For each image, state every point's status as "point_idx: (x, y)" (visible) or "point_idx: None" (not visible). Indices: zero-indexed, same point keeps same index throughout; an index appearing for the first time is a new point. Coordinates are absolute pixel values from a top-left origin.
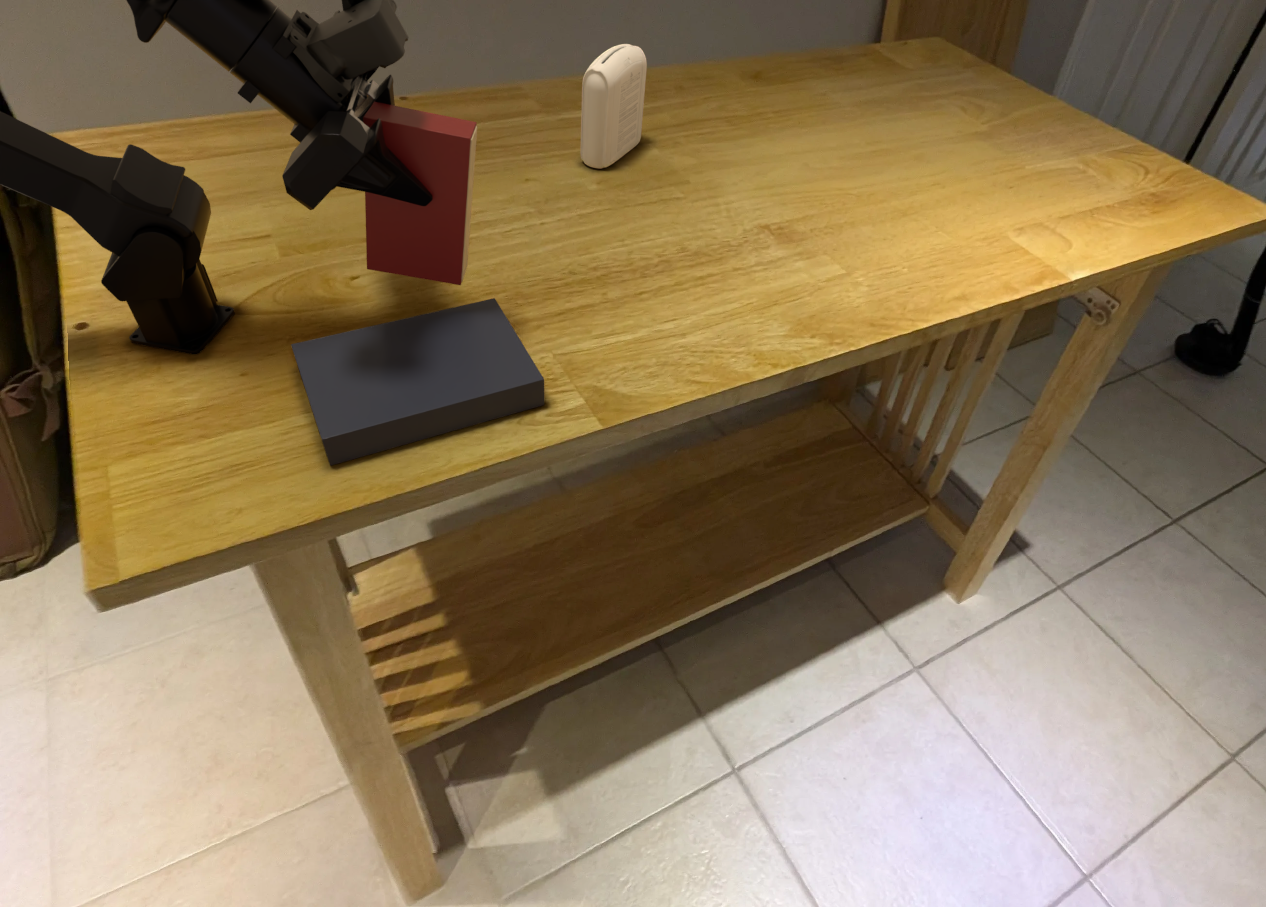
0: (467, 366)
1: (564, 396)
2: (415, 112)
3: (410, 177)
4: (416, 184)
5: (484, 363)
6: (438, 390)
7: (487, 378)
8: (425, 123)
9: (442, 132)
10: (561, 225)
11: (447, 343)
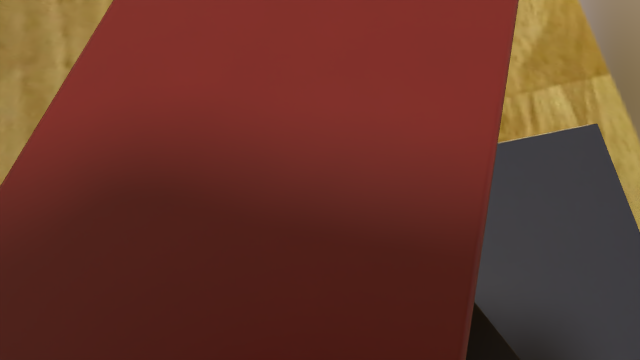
0: (556, 249)
1: (543, 111)
2: (35, 246)
3: (511, 352)
4: (486, 317)
5: (549, 217)
6: (623, 311)
7: (594, 218)
8: (327, 162)
9: (508, 29)
10: (82, 33)
11: (485, 279)
